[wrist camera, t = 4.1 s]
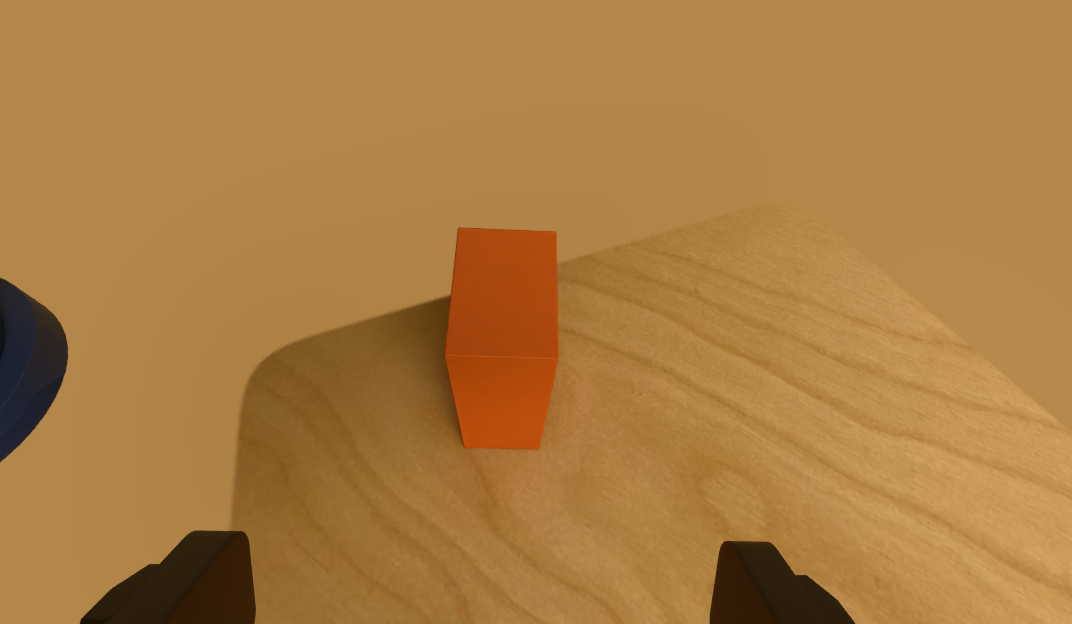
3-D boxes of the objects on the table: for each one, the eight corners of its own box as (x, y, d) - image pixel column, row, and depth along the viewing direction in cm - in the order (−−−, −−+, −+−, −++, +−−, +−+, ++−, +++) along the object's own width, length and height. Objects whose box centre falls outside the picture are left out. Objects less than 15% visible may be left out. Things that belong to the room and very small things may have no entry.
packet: (464, 448, 25) (444, 355, 16) (471, 350, 28) (457, 226, 19) (539, 449, 25) (558, 359, 16) (539, 352, 28) (556, 230, 19)
